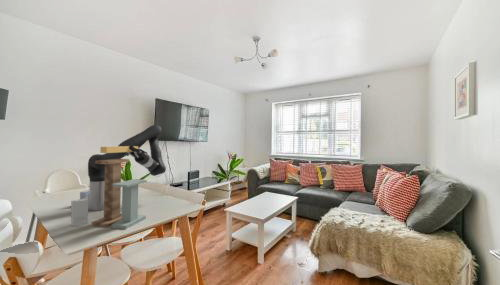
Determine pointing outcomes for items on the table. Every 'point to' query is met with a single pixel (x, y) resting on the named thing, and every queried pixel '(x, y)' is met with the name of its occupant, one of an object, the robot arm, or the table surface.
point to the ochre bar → (116, 149)
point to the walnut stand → (111, 192)
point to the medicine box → (84, 195)
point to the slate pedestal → (129, 204)
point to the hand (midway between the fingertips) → (126, 146)
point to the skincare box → (79, 212)
